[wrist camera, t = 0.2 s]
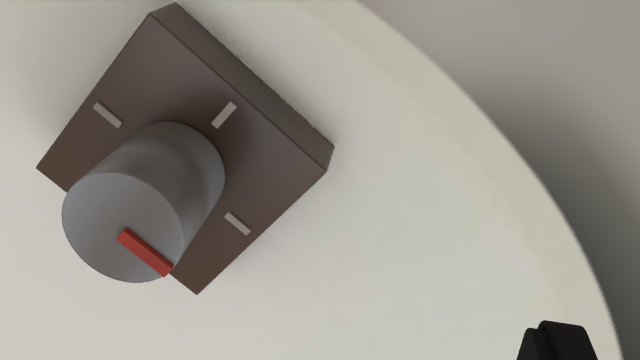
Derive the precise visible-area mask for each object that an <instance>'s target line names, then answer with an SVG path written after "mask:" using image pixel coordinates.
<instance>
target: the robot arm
mask: <svg viewBox="0 0 640 360" xmlns="http://www.w3.org/2000/svg"><path fill="white" fill-rule="evenodd" d="M517 360H598V359H597V356H596V354H595V351H594V349H593V347H592V344H591V342H590V339H589V337H588V335H587V332H586V331H585V329H584V328H583V327H582V326H578V325H572V324H565V323H559V322H552V321H546V320H544V321H542V322H541V323H540V324H539V326H538V329H534V328H528V329H527V330H526V331H525V334H524V337H523V340H522V344H521V347H520V350H519V354H518V357H517Z"/></svg>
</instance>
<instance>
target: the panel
mask: <svg viewBox="0 0 640 360" xmlns="http://www.w3.org/2000/svg"><path fill="white" fill-rule="evenodd" d="M165 121H167V122H176V123H181V124H184V125H187V126H189V127H191V128H193V129H195V130H197V131H198V132H200V133H201V134H203V135H204V136H205V137H206V138H207V139H208V140H209V141H210V142H211V143H212V144H213V145H214V147H215V148H216V150H217V151H218V153H219V155H220V157H221V159H222V162H223V165H224V170H225V185H224V190H223V192H222V195H221V197H220V198H219V200H218V202H217V203H216V205H215V206H214V208H213V209H212V211H211V212H210V214H209V215H208V217H207V218H206V220H205V222H204V223H203V225H202V226H201V228H200V229H199V231H198V232H197V234H196V235H195V237H194V238H193V240H192V242H191V243H190V245H189V246H188V248H187V249H186V251H185V252H184V254H183V255H182V257H181V258H180V260H179V262H178V263H177V264H176V266H175V267H174V268H173V269H172V270H171V271H170V272H169V274H171V275H172V276H173V277H174V278H176V279H177V280H178V281H179V282H181V283H182V284H183V285H184V286H186V287H187V288H188V289H190V290H191V291H192V292H193V293H195V294H196V295H197V294H199V293H200V292H201V291H202V290H203V289H204V288H205V287H206V286H207V285H208V284H209V283H210V282H212V281H213V280H214V279H215V278H216V277H217V276H218V275H219V274H220V273H221V272H222V271H223V270H224V269H225V268H226V267H227V266H228V265H229V264H230V263H232V262H233V261H234V260H235V259H236V258H237V257H238V256H239V255H240V254H241V253H242V252H243V251H244V250H245V249H246V248H247V247H248V246H249V245H250V244H252V243H253V242H254V241H255V240H256V239H257V238H258V237H259V236H260V235H261V234H262V233H263V232H264V231H265V230H266V229H267V228H268V227H269V226H270V225H272V224H273V223H274V222H275V221H276V220H277V219H278V218H279V217H280V216H281V215H282V214H283V213H284V212H285V211H286V210H287V209H288V208H289V207H290V206H292V205H293V204H294V203H295V202H296V201H297V200H298V199H299V198H300V197H301V196H302V195H303V194H304V193H305V192H306V191H307V190H308V189H309V188H310V187H311V186H313V185H314V184H315V183H316V182H317V181H318V180H319V179H320V178H321V177H322V176H323V175H324V174H325V173H326V172H327V169H328V166H329V163H330V160H331V156H332V153H333V150H334V146H333V145H332V144H331V143H330V142H329V141H328V140H327V139H325V138H324V137H323V136H322V135H321V134H320V133H319V132H318V131H317V130H316V129H314V128H313V127H312V126H311V125H310V124H309V123H308V122H307V121H306V120H304V119H303V118H302V117H301V116H300V115H299V114H298V113H297V112H296V111H295V110H293V109H292V108H291V107H290V106H289V105H288V104H287V103H286V102H285V101H284V100H282V99H281V98H280V97H279V96H278V95H277V94H276V93H275V92H274V91H273V90H271V89H270V88H269V87H268V86H267V85H266V84H265V83H264V82H263V81H261V80H260V79H259V78H258V77H257V76H256V75H255V74H254V73H253V72H252V71H250V70H249V69H248V68H247V67H246V66H245V65H244V64H243V63H242V62H241V61H239V60H238V59H237V58H236V57H235V56H234V55H233V54H232V53H231V52H230V51H228V50H227V49H226V48H225V47H224V46H223V45H222V44H221V43H220V42H218V41H217V40H216V39H215V38H214V37H213V36H212V35H211V34H210V33H209V32H207V31H206V30H205V29H204V28H203V27H202V26H201V25H200V24H199V23H198V22H196V21H195V20H194V19H193V18H192V17H191V16H190V15H189V14H188V13H187V12H185V11H184V10H183V9H182V8H181V7H180V6H179V5H178V4H177V3H172V4H170V5H167V6H165V7H163V8H160V9H158V10H155V11H153V12H151V13H149V14H148V15H147V16H146V18H145V19H144V20H143V22H142V23H141V24H140V26H139V27H138V28H137V30H136V31H135V33H134V34H133V35H132V37H131V38H130V39H129V41H128V42H127V43H126V45H125V46H124V48H123V49H122V50H121V52H120V53H119V54H118V56H117V57H116V58H115V60H114V61H113V63H112V64H111V65H110V67H109V68H108V69H107V71H106V72H105V73H104V75H103V76H102V78H101V79H100V80H99V82H98V83H97V84H96V86H95V87H94V88H93V90H92V91H91V93H90V94H89V95H88V97H87V98H86V99H85V101H84V102H83V104H82V105H81V106H80V108H79V109H78V110H77V112H76V113H75V114H74V116H73V117H72V119H71V120H70V121H69V123H68V124H67V125H66V127H65V128H64V129H63V131H62V132H61V134H60V135H59V136H58V138H57V139H56V140H55V142H54V143H53V144H52V146H51V147H50V149H49V150H48V151H47V153H46V154H45V155H44V157H43V158H42V159H41V161H40V162H39V164H38V165H37V167H36V168H37V169H38V170H39V171H40V172H41V173H43V174H44V175H45V176H46V177H48V178H49V179H50V180H52V181H53V182H54V183H55V184H57V185H58V186H59V187H60V188H62V189H63V190H64V191H65V192H67V193H68V191H69V190H70V188H71V187H72V186H73V185H74V184H75V183H76V182H77V181H78V180H80V179H81V178H82V177H83V176H84V175H86V174H87V173H88V172H89V171H90V170H92V169H93V168H94V167H95V166H96V165H98V164H99V163H100V162H101V161H102V160H104V159H105V158H106V157H107V156H108V155H110V154H111V153H112V152H113V151H114V150H116V149H117V148H118V147H119V146H120V145H122V144H123V143H124V142H125V141H126V140H128V139H129V138H130V137H131V136H132V135H134V134H135V133H136V132H137V131H139V130H140V129H141V128H143V127H145V126H147V125H149V124H152V123H156V122H165Z"/></svg>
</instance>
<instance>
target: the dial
mask: <svg viewBox="0 0 640 360" xmlns="http://www.w3.org/2000/svg"><path fill="white" fill-rule="evenodd" d="M224 185H225V170H224V165H223V162H222V159H221V157H220V155H219V153H218V151H217V150H216V148H215V147H214V145H213V144H212V143H211V142H210V141H209V140H208V139H207V138H206V137H205V136H204V135H203V134H201V133H200V132H198V131H197V130H195V129H193V128H191V127H189V126H187V125H184V124H181V123H176V122H167V121H165V122H156V123H152V124H149V125H147V126H145V127H143V128H141V129H140V130H139V131H137V132H136V133H135V134H134V135H132V136H131V137H130V138H129V139H128V140H126V141H125V142H124V143H123V144H122V145H120V146H119V147H118V148H117V149H116V150H114V151H113V152H112V153H111V154H110V155H108V156H107V157H106V158H105V159H104V160H102V161H101V162H100V163H99V164H98V165H96V166H95V167H94V168H93V169H92V170H90V171H89V172H88V173H87V174H86V175H84V176H83V177H82V178H81V179H80V180H78V181H77V182H76V183H75V184H74V185H73V186H72V187H71V188H70V190H69V191H68V193H67V195H66V197H65V199H64V203H63V207H62V223H63V228H64V231H65V234H66V237H67V239H68V241H69V243H70V244H71V246H72V248H73V249H74V250H75V252H76V253H77V254H78V255H79V256H80V258H81V259H82V260H83V261H84V262H86V263H87V264H88V265H89V266H90V267H92V268H93V269H95V270H96V271H98V272H100V273H101V274H103V275H105V276H108V277H110V278H113V279H116V280H119V281H124V282H131V283H142V282H149V281H153V280H156V279H158V278H160V277H165V276H166V275H167V274H168V273H169V272H170V271H171V270H172V269H173V268H174V267H175V266H176V264H177V263H178V262H179V260H180V258H181V257H182V255H183V254H184V252H185V251H186V249H187V248H188V246H189V245H190V243H191V242H192V240H193V238H194V237H195V235H196V234H197V232H198V231H199V229H200V228H201V226H202V225H203V223H204V222H205V220H206V218H207V217H208V215H209V214H210V212H211V211H212V209H213V208H214V206H215V205H216V203H217V202H218V200H219V198H220V197H221V195H222V192H223V190H224Z"/></svg>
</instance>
